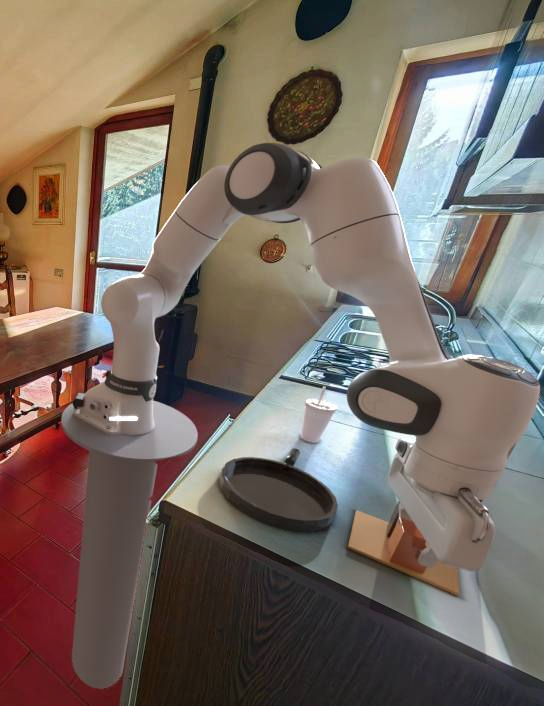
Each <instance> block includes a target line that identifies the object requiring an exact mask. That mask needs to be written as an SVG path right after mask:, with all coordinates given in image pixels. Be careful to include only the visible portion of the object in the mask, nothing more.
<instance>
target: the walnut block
mask: <svg viewBox="0 0 544 706" xmlns="http://www.w3.org/2000/svg"><path fill="white" fill-rule="evenodd" d="M399 504H400V501H399V500H398V502H397V504H396V506H395V508H394V509H393V512H392V514H391V517H390V519H389V520H388V522H389V523H388V527H387V537H389V538H390V537H391V535H392V533H393V531H394V529H395V527H396V524H397V521H398V519H399Z"/></svg>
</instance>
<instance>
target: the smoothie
mask: <svg viewBox="0 0 544 706" xmlns="http://www.w3.org/2000/svg"><path fill="white" fill-rule="evenodd" d="M326 388H327V386H322V389H321V392H320V395H319V397H318V399H317V398H308V399H306V400H305V403H304V407H305V408H304V412H303V414H304V415H303V420H302V426H301V431H300V432H301V433H300V439H302V441H305V442H308V443H310V444H317V443H319V441H320V440H321V438H322V435H323V434H324V432H325V430H326V428H327V426H328V424H329V423H330V421H331V419H332V417H333V416H334V414H336V413H337V410H338V406H337V405H335V404H334V403H332V402H329V401H327V400H324V399H323V397H324V394H325V391H326Z"/></svg>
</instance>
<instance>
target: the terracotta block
mask: <svg viewBox="0 0 544 706" xmlns="http://www.w3.org/2000/svg"><path fill="white" fill-rule="evenodd" d="M425 543H426V540H425V539H424V537H423V536H422V534H421V533H420V531H419V530H418V528H417V527H416V525H415V524H414V522H413V521H410V520H406V519H403V518H399V520H398V522H397V525H396V527H395V529H394V531H393V533H392V535H391V537H390V539H389V541H388V543H387V545H386V548H387V553H388V557H389V562H392V563H394V564H397V565H400V566H403V567H406V568H408V569H411V570H414V571H417V572H419V573H422V574H423V573H424V571H425V570H426V568H427V567H426V566H422V565H420V564H419V563H418V561H417V559H416V557H415V554H416V553H417V550H418V549H423V550H424V549H425V548H427V547H426V545H425Z"/></svg>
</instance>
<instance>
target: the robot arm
mask: <svg viewBox="0 0 544 706" xmlns="http://www.w3.org/2000/svg"><path fill="white" fill-rule="evenodd" d="M246 216H249V217H251V218H253V219H255V220H259V221H263V222H272V223H276V224H290V223H291V224H292V223H296V222H299V221H301V223H302V224H303V226H304V229H305V231H306V235H307V240H308V245H309V249H310V253H311V256H312V260H313V264H314V267H315V269H316V271H317V272H318V274H319V276H320V278H321V279H322V282H323V283H325V284H326V285H327V286H328V287H330V288H332V289H333V290H335V291H337V292H340V293H343V294H346V295H349V297H353V298H354V299H357V300H358V301H360V302H361V303H363V304H364V305H365V306H366V307H367V308H368V309H369V310H370V311H371V312H372V314H373V315H374V317H375V320H376V322H377V325H378V328H379V331H380V334H381V336H382V340H383V342H384V345H385V348H386V350H387V353H388V357H389V359H388V364H385V365H381V366H377V367H374V368H371V369H368V370H365V371H363V372H361V373H359V374H358V375H356V376H355V377H354V378H353V379H352V380H351V381H350V383H349V385H348V387H347V391H346V401H347V405H348V407H349V409H350V411H351V413H352V414H353V415H354V416H355V417H356V418H357V419H358V420H359V421H361V422H362V423H364V424H366V425H367V426H370V427H373V428H376V429H381V430H385V431H387V432H393V433H397V434H402V435H406V436H407V435H409V436H413V437H415V439H408V438H398V439H397V441H396V444H395V449H394V450H395V451H396V453H395V455H394V456H393V459H392V461H391V464H390V466H389V467H390V468H389V470H388V473H387V485H388V488H390V490H391V491H392V493H393V494H394V495H395V497H396V498H397V500H398V502H399V501H400V504H399V518H403V519H406V520H410V521H413V522H414V524H415V525H416V527H417V528H418V530H419V531H420V533H421V534H422V536H423V537H424V539H425V540H426V543H425V545H426V547H427V548H425V549H424V550H423V549H418V550H417V553H416V554H415V557H416V559H417V561H418V563H419V564H420V565H422V566H426V567H430V568H433V567H435V565H436V563H437V561H438V560H439V561H440V562H441V563H442V564H444V565H447V566H451V567H454V568H457V570H458V569H459V570H464V571H466V572H476V571H480V570H482V568H483V567H484V564H485V563H486V560H487V558H488V556H489V554H490V551H491V549H492V546H493V543H494V540H495V537H496V525H495V523H494V520H493V519H492V518H491V517H490V516H489V515H490V510H489V509H488V507H487V506H486V505H485V504H483V503H482V502H480V501H479V500H482V501H484V500H487V499H489V498H490V497H491V496H492V493H493V492H494V490H495V488H496V486H497V484H498V482H499V481H500V479H501V477H502V475H503V473H504V472H505V470H506V468H507V465H508V459H507V457H508V452H509V451H510V449H511V448H512V446H513V445H515V444H516V445H517V443H518V442H520V441H521V439H522V438H523V436H524V435H525V433H526V431H527V428H528V426H529V425H530V422H531V421H532V418H533V416H534V414H535V411H536V409H537V405H538V402H539V399H540V395H541V394H540V393H541V384H540V381H539V379H538V378H537V377H536V376H535V375H534V374H533V373H531V372H530V371H528V370H527V369H525V368H524V367H521V366H520V365H518V364H516V363H512V362H510V361H507V360H503V359H499V358H497V357H492V356H490V357H489V356H485V355H480V354H465V355H464V354H463V355H461V356H458V357H455V358H453V356H451V355H450V354H449V352H448V351H447V349H446V348H445V347H444V344H443V343H442V341H441V338H440V336H439V332H438V330H437V325H436V323H435V321H434V318H433V315H432V312H431V310H430V307H429V304H428V302H427V298H426V296H425V293H424V290H423V288H422V286H421V284H420V281H419V278H418V275H417V272H416V269H415V266H414V263H413V260H412V256H411V253H410V249H409V245H408V241H407V238H406V233H405V228H404V225H403V221H402V217H401V214H400V210H399V206H398V203H397V201H396V198H395V195H394V192H393V191H392V188H391V185H390V184H389V182H388V179H387V178H386V177H385V175H384V172H383V171H382V170H381V168H380V166H379V164H378V163H377V162H376V161H374V160H373V159H371V158H368V157H363V156H362V157H361V156H357V157H349V158H346V159H342V160H338V161H336V162H334V163H332V164H330V165H327V166H326V167H322V166H321V164H319V163H318V162H316V161H315V160H313V158H312V157H310V156H309V155H308V154H306V153H304V152H302V151H300V150H297V149H293V148H292V147H290V146H288V145H286V144H283V143H278V142H262V143H257V144H255V145H252V146H250V147H248V148H247V149H245V150H244V151H242V152H241V153H239V154H238V156H237V157H236V158H235V159H234V160H233V162H232V163H231V164H230V165H226V164H221V165H216V166H213V167H211V168H210V169H208V170H207V171H206V173H204V174H203V175H202V176H201V177H200V178H199V179H198V181H197V182H196V183H195V184H194V185H193V186H192V187H191V188H190V190H189V191H188V192H187V193H186V194H185V196H184V197H183V198H182V199H181V201H180V202H179V204H178V205H177V207H176V208H175V210H174V211H173V213H172V214H171V216H170V217H169V218H168V220H166V223H165V224H164V226H163V227H162V228H161V230H160V232H158V234H157V236H156V237H155V239H154V241H153V243H152V246H151V247H152V248H151V249H152V251H151V254H150V257H149V259H148V262H147V264H146V266H145V268H144V269H143V270H142V271H141V272H140V273H139V274H136V275H130V276H125V277H122V278H120V279H118V280H116V281H115V282H113V283H111V284H110V285H109V286H108V287H107V288H105V290H104V291H103V293H102V296H101V301H100V305H101V311H102V314H103V316H104V317H105V319H106V320H107V321H108V322H109V324H110V326H111V327H110V328H111V331H112V338H113V339H112V340H113V353H112V365H111V368H110V369H108V370H106V372H103V373H102V374H101V375H102V376H101V378H102V379H104V378H105V379H104V381H103V382H101V383H100V382H99V383H98V384H96V385H94V386H93V387H91V388H90V389H87V391H86V392H83V393H82V392H78V393H77V394H76V395H75V398H74V399H73V401H72V403H73V406H74V409H73V415H75V416H77V417H78V418H80V419H82V420H84V421H85V422H87V423H89V424H91V425H92V426H94V427H96V428H98V429H99V430H101V431H103V432H105V433H106V434H108V435H120V434H125V435H141V434H146V433H149V432H150V431H152V430H153V429H154V427H155V424H154V418H153V401H154V398H155V395H156V392H157V382H158V376H157V369H158V364H159V356H160V344H159V343H158V342H157V340H156V334H155V322H156V319H157V318H161V317H163V316H165V315H167V314H168V313H170V312H171V311H172V310H173V309H174V308H175V307H176V306H177V305H178V303H180V300H181V297H182V294H183V293H184V291H185V289H186V287H187V286H188V284H189V282H190V280H191V278H192V277H193V275H194V274H195V272H196V271H197V269H198V268H199V267H200V266H201V265H202V263H203V262H204V261H205V260H206V258H207V257H208V256H209V255H210V253H211V252H212V251H213V249H214V248H215V247H216V246H217V244H218V243H219V242H220V240H222V238H224V236H225V235H226V233H227V232H228V231H229V229H230V228H231V227H232V226H233V225H234V224H235V223H236V222H237V221H238V220H240V219H241V218H243V217H246ZM516 445H515V446H516ZM398 520H399V519H398ZM397 522H398V521H397ZM396 525H397V524H396Z"/></svg>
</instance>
